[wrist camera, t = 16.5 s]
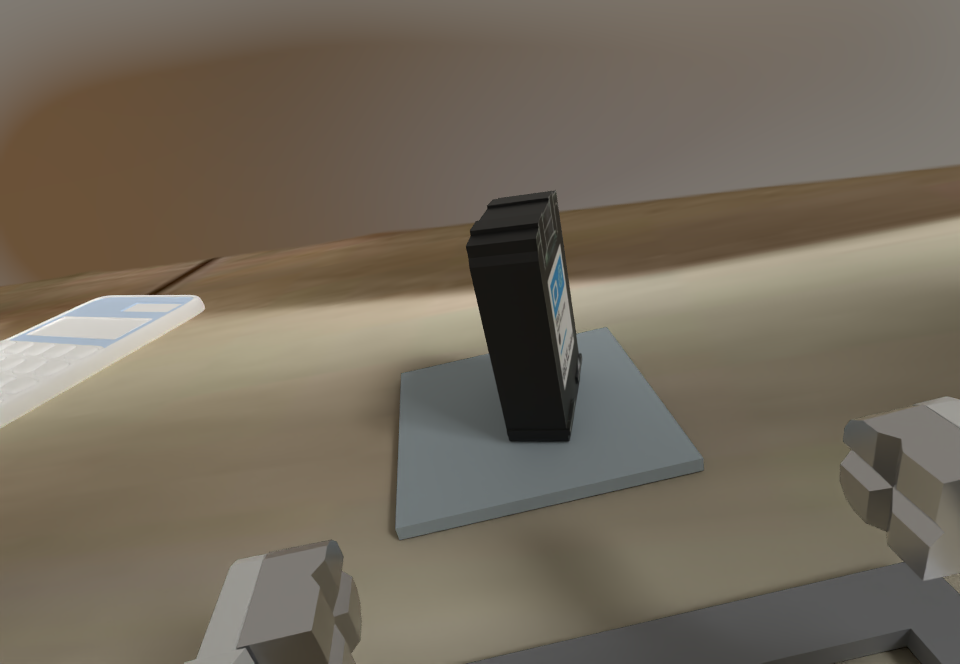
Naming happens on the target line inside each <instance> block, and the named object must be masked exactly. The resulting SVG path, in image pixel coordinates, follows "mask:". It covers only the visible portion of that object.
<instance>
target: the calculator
mask: <svg viewBox="0 0 960 664" xmlns="http://www.w3.org/2000/svg"><path fill="white" fill-rule="evenodd" d="M204 309H205V306H204V304H203V302H202V300H201V299H200V298H199V297H198V296H194V295H113V296H103V297H99V298H96V299H93V300H91V301H88V302H86V303H84V304H82V305H79V306H77V307H75V308H73V309H71V310H68V311H66V312H64V313H62V314H60V315H58V316H55V317H53V318H51V319H49V320H47V321H44V322H42V323H40V324H38V325H36V326H34V327H31V328H29V329H27V330H25V331H23V332H21V333H18V334H16V335H14V336H12V337H10V338H8V339H5V340H2V341H0V428H2V427H4V426H5V425H7V424H9V423H11V422H12V421H14V420H16V419H17V418H19V417H21V416H23V415H24V414H26V413H28V412H30V411H31V410H33V409H35V408H37V407H38V406H40V405H42V404H44V403H45V402H47V401H49V400H51V399H52V398H54V397H56V396H57V395H59V394H61V393H63V392H64V391H66V390H68V389H70V388H71V387H73V386H75V385H77V384H78V383H80V382H82V381H84V380H85V379H87V378H89V377H91V376H92V375H94V374H96V373H98V372H99V371H101V370H103V369H104V368H106V367H108V366H110V365H111V364H113V363H115V362H117V361H118V360H120V359H122V358H124V357H125V356H127V355H129V354H131V353H132V352H134V351H136V350H138V349H139V348H141V347H143V346H144V345H146V344H148V343H150V342H151V341H153V340H155V339H157V338H158V337H160V336H162V335H164V334H165V333H167V332H169V331H171V330H172V329H174V328H176V327H178V326H179V325H181V324H183V323H184V322H186V321H188V320H190V319H191V318H193V317H195V316H196V315H198V314H200V313H201V312H202V311H204Z"/></svg>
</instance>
